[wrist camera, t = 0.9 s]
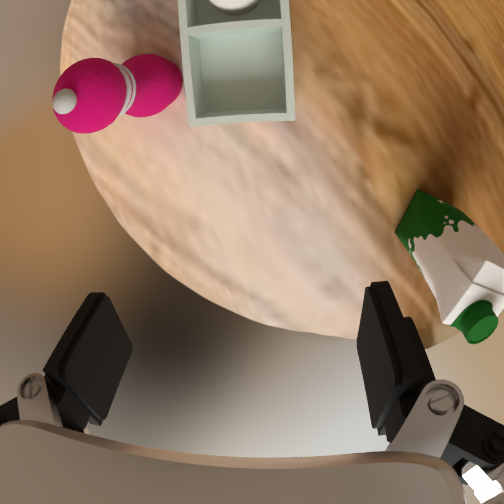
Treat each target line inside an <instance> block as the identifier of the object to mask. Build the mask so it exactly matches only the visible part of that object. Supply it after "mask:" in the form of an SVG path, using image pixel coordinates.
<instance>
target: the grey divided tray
mask: <svg viewBox="0 0 504 504" xmlns="http://www.w3.org/2000/svg"><path fill="white" fill-rule="evenodd" d="M178 15H179V29H180V42H181V54H182V65H183V76H184V86H185V96H186V105H187V114H188V123H189V127H194V126H204V125H215V124H227V123H242V122H262V121H295V99H294V76H293V56H292V40H291V25H290V11H289V0H261V1H260V3H259V5H258V6H257V7H256V8H255V9H254V10H252V11H251V12H249V13H247V14H244V15H238V16H233V15H227V14H224V13H222V12H220V11H219V10H218V9H217V8H216V7H215V6H214V5H213V4H212V3H211V2H210V1H209V0H178Z"/></svg>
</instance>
